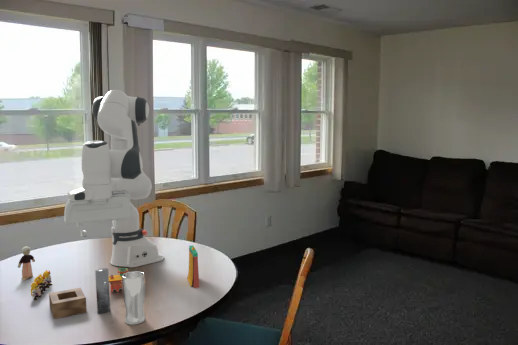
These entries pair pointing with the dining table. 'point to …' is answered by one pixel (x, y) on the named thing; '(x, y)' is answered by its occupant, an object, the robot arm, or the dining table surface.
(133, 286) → the beer glass
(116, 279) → the toy building block set
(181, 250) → the dining table surface
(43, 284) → the figurine set
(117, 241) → the robot arm
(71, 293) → the wooden block with hole
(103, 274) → the metal peg
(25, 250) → the grandmother figurine
